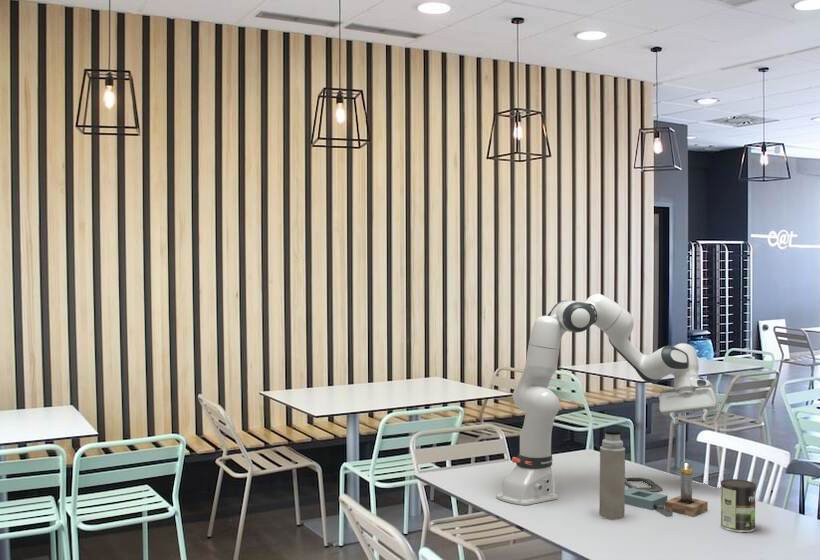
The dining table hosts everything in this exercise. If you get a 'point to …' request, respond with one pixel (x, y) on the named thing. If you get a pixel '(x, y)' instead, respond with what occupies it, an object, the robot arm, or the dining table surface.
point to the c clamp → (653, 485)
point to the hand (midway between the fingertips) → (689, 423)
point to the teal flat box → (644, 498)
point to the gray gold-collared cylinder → (686, 482)
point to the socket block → (686, 506)
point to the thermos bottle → (612, 476)
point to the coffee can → (738, 505)
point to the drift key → (662, 510)
